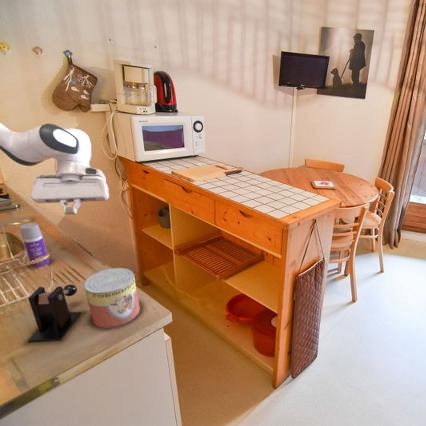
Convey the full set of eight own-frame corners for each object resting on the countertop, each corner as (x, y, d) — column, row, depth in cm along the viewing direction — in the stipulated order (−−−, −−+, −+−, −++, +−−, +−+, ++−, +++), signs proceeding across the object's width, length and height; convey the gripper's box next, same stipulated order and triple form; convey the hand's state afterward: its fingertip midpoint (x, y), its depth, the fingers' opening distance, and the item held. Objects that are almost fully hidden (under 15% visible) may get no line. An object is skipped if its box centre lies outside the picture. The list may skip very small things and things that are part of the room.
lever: (66, 295, 89) (66, 283, 89) (79, 294, 90) (79, 283, 90) (35, 306, 77) (36, 292, 77) (50, 305, 78) (51, 292, 78)
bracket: (53, 316, 86) (41, 280, 82) (81, 315, 88) (72, 279, 83) (29, 344, 77) (14, 306, 73) (61, 342, 79) (49, 304, 74)
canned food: (105, 336, 82) (96, 298, 77) (85, 317, 87) (75, 281, 82) (148, 313, 90) (142, 278, 86) (127, 297, 96) (121, 263, 91)
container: (38, 270, 105) (25, 229, 99) (28, 266, 106) (15, 226, 100) (53, 263, 109) (41, 224, 103) (44, 260, 110) (32, 221, 104)
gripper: (29, 170, 99) (23, 211, 94) (105, 170, 106) (104, 208, 101) (39, 180, 104) (34, 219, 100) (111, 178, 111) (109, 215, 107)
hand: (70, 213), depth 100 cm, fingers closed
